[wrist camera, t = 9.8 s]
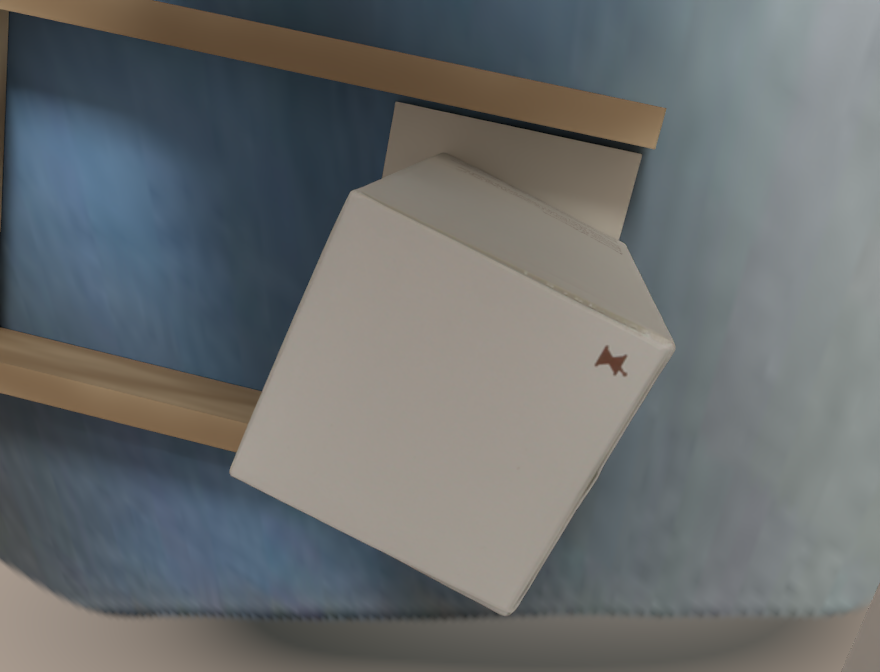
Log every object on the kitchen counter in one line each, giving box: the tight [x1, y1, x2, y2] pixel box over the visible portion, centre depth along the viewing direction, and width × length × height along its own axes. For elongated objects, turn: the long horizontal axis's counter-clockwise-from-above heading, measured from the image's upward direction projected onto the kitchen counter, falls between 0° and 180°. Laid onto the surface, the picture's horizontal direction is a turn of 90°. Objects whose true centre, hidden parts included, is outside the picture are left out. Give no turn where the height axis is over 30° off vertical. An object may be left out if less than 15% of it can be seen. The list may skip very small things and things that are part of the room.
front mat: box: [382, 101, 642, 241], centre depth 29 cm, size 11×8×1 cm
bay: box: [0, 0, 666, 452], centre depth 28 cm, size 14×24×3 cm, turn 78°
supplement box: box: [229, 152, 675, 616], centre depth 22 cm, size 7×7×13 cm
